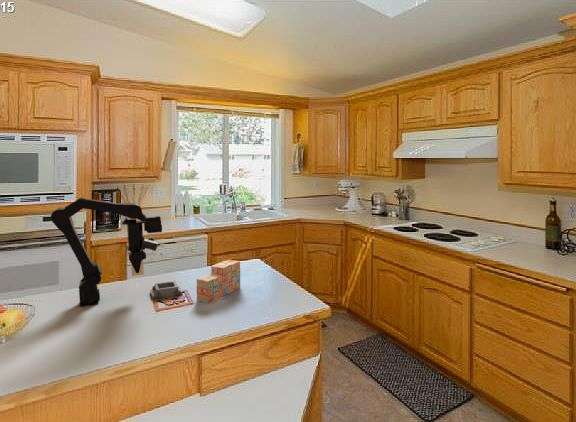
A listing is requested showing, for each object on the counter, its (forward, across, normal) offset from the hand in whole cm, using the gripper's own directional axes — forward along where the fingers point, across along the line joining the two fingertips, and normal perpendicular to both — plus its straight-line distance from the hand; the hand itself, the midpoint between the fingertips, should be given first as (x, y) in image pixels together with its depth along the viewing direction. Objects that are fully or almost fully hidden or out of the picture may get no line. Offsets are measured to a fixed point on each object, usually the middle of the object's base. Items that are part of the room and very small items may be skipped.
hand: (137, 271), depth 151 cm
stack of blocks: (+11, -11, -32) cm, 35 cm away
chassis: (+11, -2, -11) cm, 15 cm away
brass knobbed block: (+1, 0, 0) cm, 1 cm away
